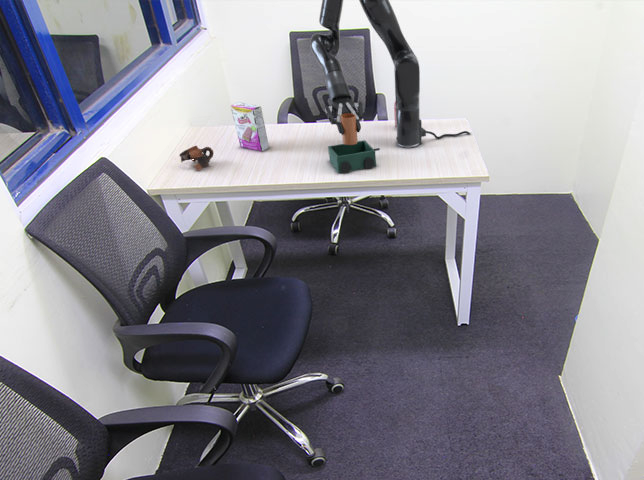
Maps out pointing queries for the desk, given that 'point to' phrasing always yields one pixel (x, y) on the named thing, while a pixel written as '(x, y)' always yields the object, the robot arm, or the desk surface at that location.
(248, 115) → the candy bar box
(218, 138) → the desk surface
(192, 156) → the pottery mug
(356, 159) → the cart
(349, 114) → the orange cup
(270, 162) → the desk surface
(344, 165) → the cart wheels
